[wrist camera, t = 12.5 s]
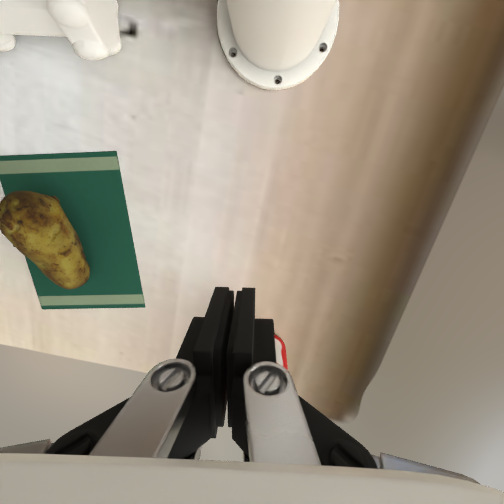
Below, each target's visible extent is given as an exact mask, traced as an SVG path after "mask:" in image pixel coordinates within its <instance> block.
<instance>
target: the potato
mask: <svg viewBox="0 0 504 504" xmlns="http://www.w3.org/2000/svg"><path fill="white" fill-rule="evenodd" d="M59 201H60V200H59V199H58V198H57V197H56V196H55V195H53V196H48V195H46V194H39V193H36V192H32V191H14V192H11V193H9V194H7V195H6V196H5V197H4V198H3V200H2V201H1V203H0V230H1V231H2V233H3V234H4V235H5V236H6V237H7V239H8V240H9V241H10V242H11V243H12V244H13V246H14V247H16V248H17V249H18V250H19V251H20V252H21V253H22V254H24V255H25V256H26V257H27V258H29V259H30V260H31V261H32V262H34V263H35V264H36V265H37V267H38V268H39V269H40V270H41V271H42V273H43V274H44V275H46V276H47V277H48V278H49V279H50V280H51V281H52V282H54V284H57V285H58V286H60V287H62V288H64V289H75V288H78V287H81V286H82V285H84V284H85V283H86V282H87V281H88V279H89V275H90V267H89V264H88V262H87V261H86V258H85V257H86V256H85V254H84V251H83V248H82V245H81V242H80V239H79V237H78V235H77V233H76V231H75V230H74V228H73V227H72V225H71V223H70V222H69V220H68V218H67V216H66V214H65V213H64V211H63V209H62V208H61V206H60V205H59V204H60V202H59Z"/></svg>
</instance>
